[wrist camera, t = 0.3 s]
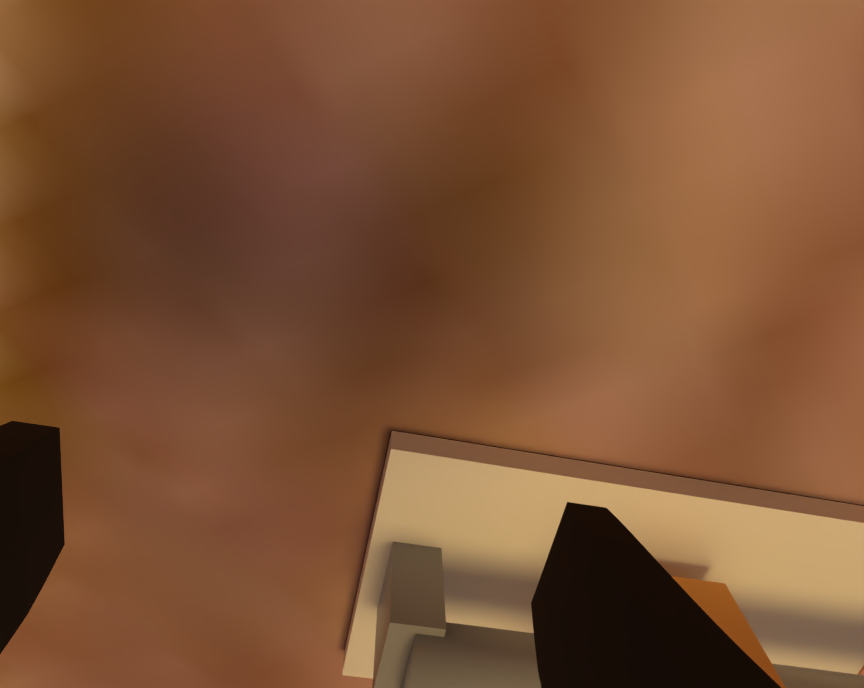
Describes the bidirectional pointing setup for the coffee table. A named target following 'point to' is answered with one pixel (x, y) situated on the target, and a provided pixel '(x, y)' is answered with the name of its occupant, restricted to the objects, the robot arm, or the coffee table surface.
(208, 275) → the coffee table surface
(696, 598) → the orange block with hole
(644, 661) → the robot arm
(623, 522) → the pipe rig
